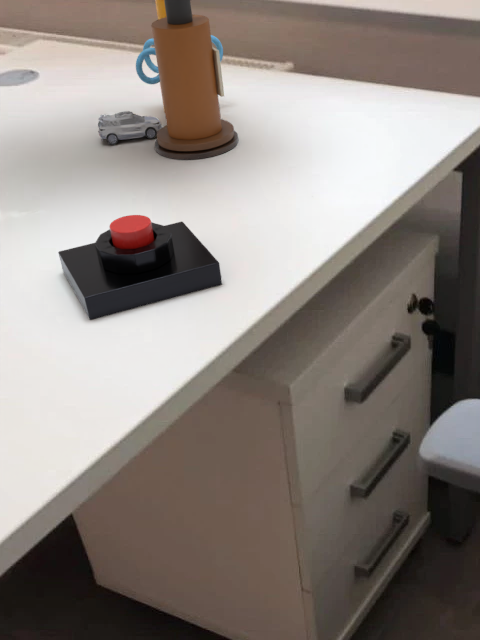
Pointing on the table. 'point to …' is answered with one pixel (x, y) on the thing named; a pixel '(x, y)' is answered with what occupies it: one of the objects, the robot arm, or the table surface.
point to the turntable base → (197, 154)
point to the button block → (139, 270)
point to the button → (131, 232)
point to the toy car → (127, 126)
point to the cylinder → (148, 51)
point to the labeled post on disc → (189, 81)
